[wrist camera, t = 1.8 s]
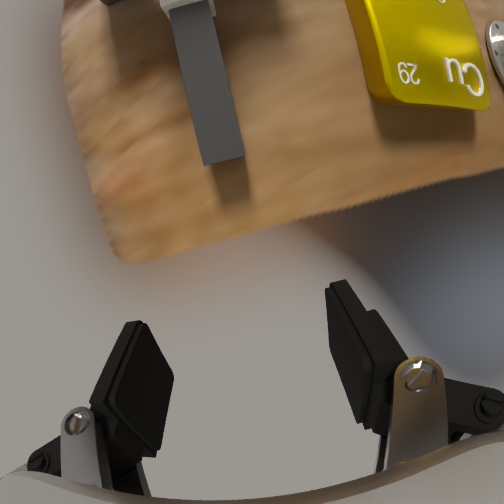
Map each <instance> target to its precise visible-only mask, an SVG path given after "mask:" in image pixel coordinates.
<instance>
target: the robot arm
mask: <svg viewBox="0 0 504 504" xmlns="http://www.w3.org/2000/svg"><path fill="white" fill-rule="evenodd" d="M486 41H487V47H488V51H489V55H490V58H491V60H492V63H493V66H494V68H495V71H496V73H497V75H498V77H499V79H500V80H501V82H502V84H503V86H504V23H503V22H501V21H493V22H490V23H489V24H488V26H487V29H486ZM325 298H326V309H327V321H328V334H329V347H330V351H331V354H332V357H333V359H334V362H335V365H336V368H337V370H338V373H339V376H340V378H341V381H342V384H343V386H344V389H345V392H346V395H347V397H348V400H349V403H350V406H351V409H352V411H353V414H354V417H355V420H356V422H357V424H359V423H363V426H364V429H365V430H367V429H370V428H372V431H373V433H376V434H379V435H380V438H379V445H378V452H377V458H376V463H375V469H374V474H372V475H369V476H366V477H363V478H359V479H356V480H352V481H349V482H345V483H341V484H338V485H334V486H330V487H326V488H321V489H317V490H311V491H306V492H301V493H295V494H289V495H282V496H274V497H265V498H256V499H244V500H243V499H242V500H213V501H212V500H209V501H208V500H206V501H205V500H181V499H167V498H156V497H152V496H151V493H150V490H149V487H148V484H147V480H146V477H145V474H144V470H143V466H142V463H141V461H142V456H143V457H156V454H157V450H160V448H161V444H162V439H163V432H164V427H165V421H166V417H167V412H168V406H169V401H170V396H171V391H172V387H173V381H174V375H173V372H172V370H171V368H170V367H169V365H168V363H167V361H166V359H165V357H164V356H163V354H162V352H161V351H160V348H159V346H158V344H157V343H156V341H155V339H154V337H153V335H152V333H151V331H150V329H149V327H148V325H147V324H146V323H143V322H142V321H140V320H138V321H131V322H126V324H125V325H124V327H123V329H122V331H121V333H120V335H119V337H118V339H117V341H116V343H115V345H114V347H113V350H112V352H111V354H110V356H109V358H108V360H107V362H106V364H105V367H104V369H103V371H102V373H101V375H100V377H99V380H98V382H97V384H96V386H95V389H94V391H93V393H92V396H91V398H90V400H89V403H90V404H91V407H90V409H88V408H87V407H77V408H75V409H72V410H71V411H70V412H68V413H67V414H66V416H65V417H64V419H63V421H62V424H61V435H60V436H58V437H57V438H55V439H54V440H52V441H50V442H49V443H47V444H46V445H44V446H42V447H41V448H39V449H38V450H36V451H35V452H33V453H32V454H31V456H30V457H29V460H28V462H27V464H24V465H22V466H21V467H19V468H17V469H16V470H14V471H13V472H11V473H9V474H7V475H6V476H4V477H2V478H1V479H0V504H504V394H503V393H502V392H501V391H499V390H497V389H494V388H488V387H483V386H478V385H474V384H469V383H464V382H460V381H455V380H451V379H447V378H444V375H443V371H442V369H441V367H440V366H439V365H438V363H436V362H435V361H433V360H431V359H428V358H426V357H414V358H410V359H408V357H407V355H406V354H405V352H404V351H403V349H402V348H401V346H400V345H399V343H398V341H397V340H396V338H395V337H394V335H393V334H392V332H391V331H390V329H389V328H388V326H387V325H386V324H385V322H384V320H383V319H382V318H381V316H380V315H379V313H378V312H377V311H376V310H374V309H373V310H370V311H366V309H365V308H364V306H363V305H362V303H361V302H360V300H359V298H358V297H357V295H356V294H355V293H354V291H353V290H352V288H351V286H350V285H349V284H348V282H347V281H346V280H345V279H344V280H340V281H336V282H332V283H330V287H329V288H326V289H325Z"/></svg>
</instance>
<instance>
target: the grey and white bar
mask: <svg viewBox="0 0 504 504" xmlns="http://www.w3.org/2000/svg"><path fill="white" fill-rule="evenodd" d="M159 1H160V6H161V8H162V10H163V11H164V13H165V14H166V16H167V17H168V19H169V20H170V22H171V25H172V30H173V35H174V40H175V44H176V49H177V54H178V58H179V63H180V67H181V72H182V76H183V81H184V85H185V89H186V94H187V98H188V103H189V107H190V111H191V115H192V120H193V124H194V128H195V132H196V136H197V140H198V144H199V149H200V153H201V157H202V161H203V165H204V166H206V165H210V164H214V163H218V162H222V161H226V160H231V159H235V158H239V157H244V156H245V152H244V147H243V143H242V139H241V134H240V130H239V126H238V121H237V117H236V113H235V108H234V104H233V100H232V96H231V91H230V87H229V83H228V79H227V74H226V70H225V66H224V62H223V58H222V54H221V50H220V46H219V41H218V37H217V33H216V29H215V25H214V21H213V17H214V16H216V11H215V6H214V1H213V0H159Z"/></svg>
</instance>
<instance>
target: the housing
mask: <svg viewBox="0 0 504 504" xmlns="http://www.w3.org/2000/svg"><path fill="white" fill-rule="evenodd" d="M100 1H102V2H103V3H104V4H105V5H106V6H110V5H112V4H114V3H116V2H119V1H121V0H100Z"/></svg>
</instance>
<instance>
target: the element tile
mask: <svg viewBox="0 0 504 504" xmlns="http://www.w3.org/2000/svg"><path fill="white" fill-rule="evenodd" d="M345 2H346V6H347V9H348V12H349V15H350V18H351V22H352V25H353V29H354V33H355V36H356V40H357V44H358V48H359V52H360V56H361V61H362V65H363V70H364V75H365V80H366V85H367V88H368V90H369V92H370V94H371V96H372V97H373V98H374V99H375V100H376V101H377V102H379V103H381V104H384V105H388V106H416V107H432V108H444V109H454V110H469V111H485V110H486V109H488V108H489V106H490V100H491V96H490V89H489V84H488V79H487V74H486V69H485V64H484V60H483V56H482V52H481V48H480V45H479V41H478V38H477V35H476V31H475V28H474V25H473V22H472V19H471V16H470V14H469V11H468V9H467V7H466V5H465V3H464V1H463V0H345Z"/></svg>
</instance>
